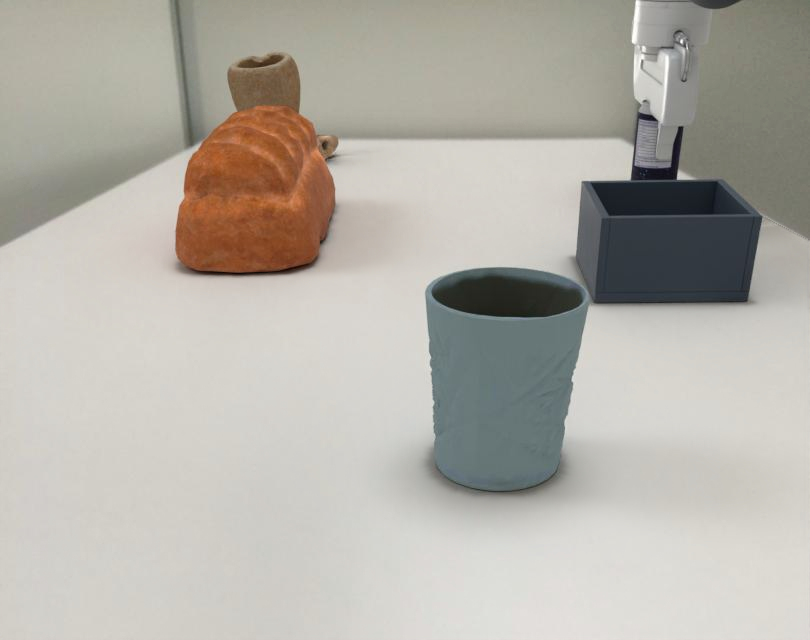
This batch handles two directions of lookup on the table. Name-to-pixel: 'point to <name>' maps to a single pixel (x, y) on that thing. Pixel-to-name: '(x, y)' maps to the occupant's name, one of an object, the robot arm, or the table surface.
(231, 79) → the stone cup
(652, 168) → the beverage can
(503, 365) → the teal cup
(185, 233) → the bread
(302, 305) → the table surface
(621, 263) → the bin
